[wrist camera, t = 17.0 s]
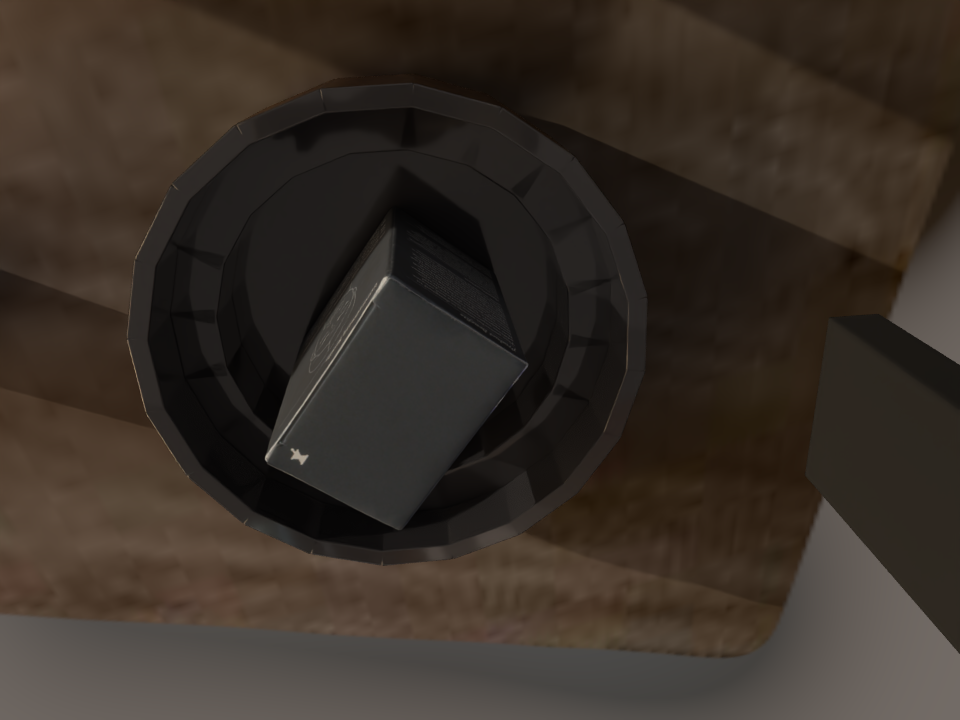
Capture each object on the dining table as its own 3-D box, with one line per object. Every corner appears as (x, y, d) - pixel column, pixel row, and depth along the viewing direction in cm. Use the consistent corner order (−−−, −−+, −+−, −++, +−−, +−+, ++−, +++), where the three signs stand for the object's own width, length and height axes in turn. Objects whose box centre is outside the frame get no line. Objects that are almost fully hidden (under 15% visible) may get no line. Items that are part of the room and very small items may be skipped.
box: (403, 403, 37) (400, 538, 27) (299, 342, 35) (255, 462, 25) (500, 271, 35) (534, 366, 25) (393, 200, 33) (385, 271, 23)
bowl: (222, 499, 39) (188, 584, 33) (132, 89, 31) (65, 104, 25) (606, 465, 40) (640, 541, 34) (611, 59, 32) (656, 67, 26)
